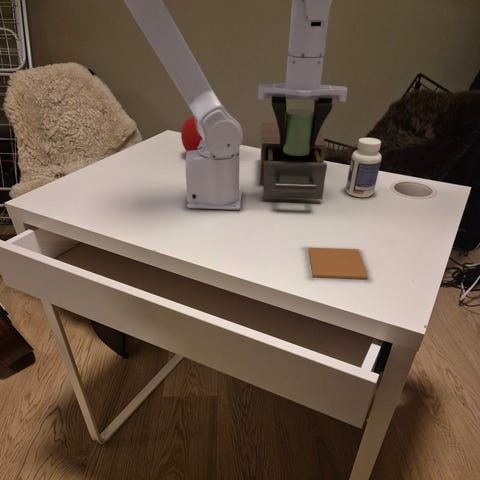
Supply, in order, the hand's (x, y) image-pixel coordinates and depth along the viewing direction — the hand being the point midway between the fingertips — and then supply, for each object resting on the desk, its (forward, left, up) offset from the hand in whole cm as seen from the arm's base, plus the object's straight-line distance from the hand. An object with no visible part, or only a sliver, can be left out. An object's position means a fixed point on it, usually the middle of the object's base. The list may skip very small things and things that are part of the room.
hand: (296, 144), depth 74 cm
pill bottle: (+13, +2, -10) cm, 16 cm away
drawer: (0, 0, -8) cm, 8 cm away
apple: (-20, +20, -10) cm, 30 cm away
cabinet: (0, +11, -9) cm, 14 cm away
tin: (0, 0, -1) cm, 1 cm away
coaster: (+5, -25, -9) cm, 27 cm away
